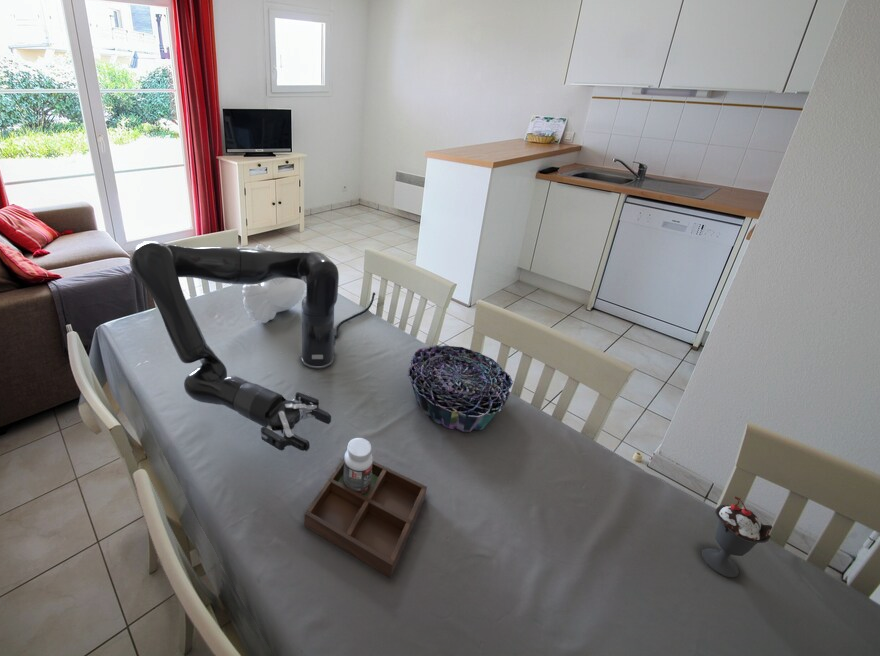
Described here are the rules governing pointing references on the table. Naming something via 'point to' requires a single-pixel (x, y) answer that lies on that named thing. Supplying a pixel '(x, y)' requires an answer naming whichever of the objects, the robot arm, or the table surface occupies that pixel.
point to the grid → (368, 516)
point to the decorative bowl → (458, 386)
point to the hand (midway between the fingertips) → (319, 432)
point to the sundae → (734, 537)
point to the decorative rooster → (271, 296)
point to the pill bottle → (358, 465)
